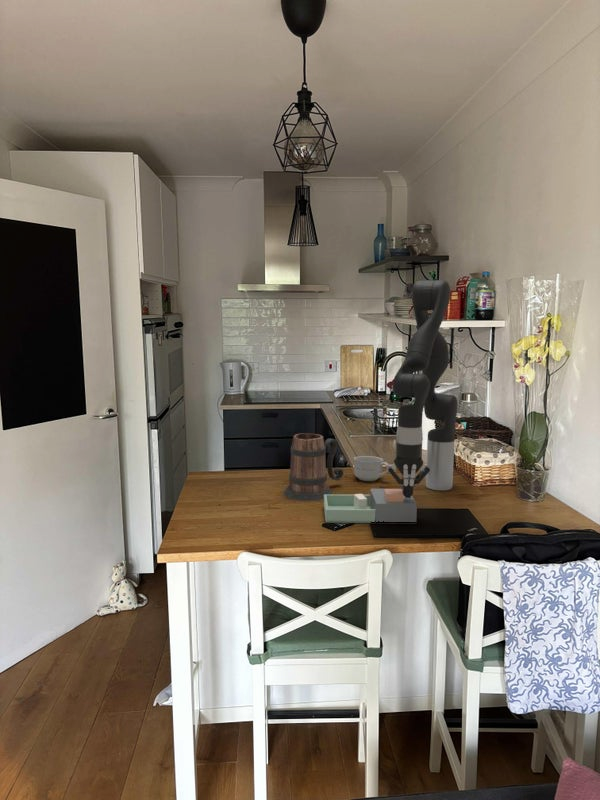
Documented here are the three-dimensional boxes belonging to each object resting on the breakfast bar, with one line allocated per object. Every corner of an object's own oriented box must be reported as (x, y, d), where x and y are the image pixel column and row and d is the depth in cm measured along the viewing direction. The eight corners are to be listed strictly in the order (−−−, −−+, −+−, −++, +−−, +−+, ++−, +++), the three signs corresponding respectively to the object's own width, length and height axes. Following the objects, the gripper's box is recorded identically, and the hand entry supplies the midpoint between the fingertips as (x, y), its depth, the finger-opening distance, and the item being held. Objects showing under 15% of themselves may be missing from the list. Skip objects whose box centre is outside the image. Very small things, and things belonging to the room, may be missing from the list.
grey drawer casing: (369, 506, 183) (370, 488, 182) (407, 506, 184) (408, 488, 183) (375, 523, 170) (376, 503, 169) (416, 523, 170) (417, 503, 169)
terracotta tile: (383, 496, 175) (384, 488, 174) (400, 497, 175) (400, 489, 174) (386, 502, 170) (386, 494, 169) (403, 502, 170) (403, 494, 169)
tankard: (302, 504, 185) (303, 444, 182) (273, 491, 199) (273, 434, 195) (357, 491, 199) (358, 434, 196) (326, 479, 212) (327, 426, 209)
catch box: (323, 506, 183) (323, 494, 183) (369, 506, 183) (369, 494, 183) (325, 522, 170) (325, 509, 169) (375, 523, 170) (375, 510, 169)
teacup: (347, 478, 213) (347, 457, 212) (367, 473, 220) (367, 452, 219) (375, 487, 203) (376, 465, 202) (395, 481, 210) (396, 460, 209)
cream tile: (361, 493, 179) (354, 494, 178) (366, 498, 174) (359, 499, 173) (361, 508, 180) (353, 509, 179) (366, 514, 175) (358, 515, 174)
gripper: (428, 437, 173) (426, 493, 176) (384, 437, 173) (383, 493, 175) (434, 443, 165) (432, 501, 168) (389, 443, 165) (387, 501, 168)
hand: (407, 497), depth 172 cm, fingers closed
